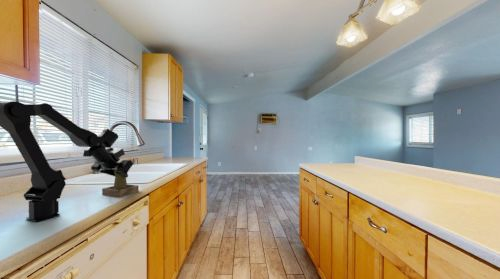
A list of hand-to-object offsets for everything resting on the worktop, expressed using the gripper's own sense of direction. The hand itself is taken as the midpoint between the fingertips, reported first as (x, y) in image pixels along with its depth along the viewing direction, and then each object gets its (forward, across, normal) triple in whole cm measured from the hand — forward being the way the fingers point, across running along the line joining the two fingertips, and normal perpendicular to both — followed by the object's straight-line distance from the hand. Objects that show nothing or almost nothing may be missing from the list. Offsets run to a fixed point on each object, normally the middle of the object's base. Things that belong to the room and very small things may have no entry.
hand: (122, 176), depth 105 cm
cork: (+4, 0, +6) cm, 7 cm away
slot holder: (+5, 0, +6) cm, 8 cm away
